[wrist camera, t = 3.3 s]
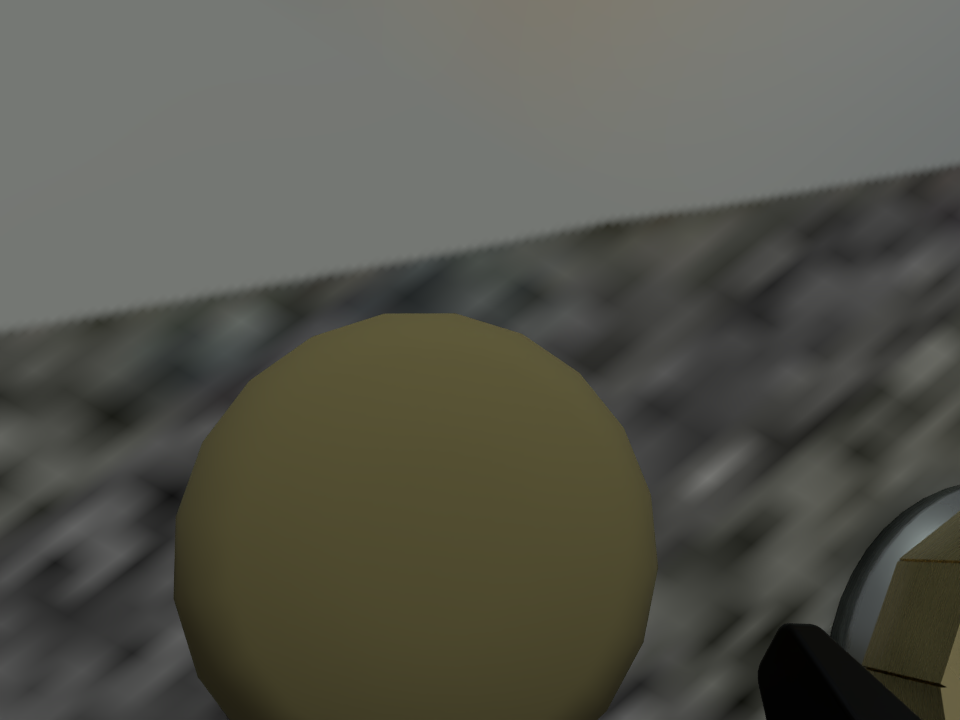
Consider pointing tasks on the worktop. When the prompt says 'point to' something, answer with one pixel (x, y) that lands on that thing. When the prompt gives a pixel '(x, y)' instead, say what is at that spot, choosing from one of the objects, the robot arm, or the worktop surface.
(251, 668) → the cork
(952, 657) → the collar socket
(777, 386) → the worktop surface
